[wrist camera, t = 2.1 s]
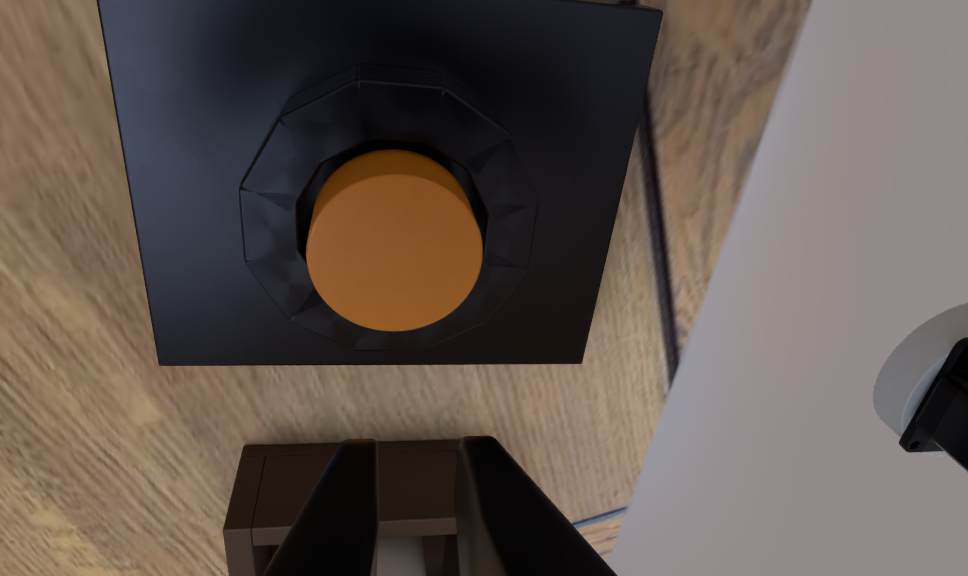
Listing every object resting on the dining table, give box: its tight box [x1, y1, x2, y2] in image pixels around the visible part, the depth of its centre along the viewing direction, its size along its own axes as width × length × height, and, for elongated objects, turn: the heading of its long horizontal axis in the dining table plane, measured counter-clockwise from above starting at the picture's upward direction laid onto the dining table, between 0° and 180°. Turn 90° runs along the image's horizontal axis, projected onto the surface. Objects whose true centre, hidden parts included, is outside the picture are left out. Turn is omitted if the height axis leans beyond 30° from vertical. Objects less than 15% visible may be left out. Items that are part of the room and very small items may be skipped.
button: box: [306, 149, 483, 331], centre depth 13 cm, size 4×4×2 cm
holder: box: [223, 440, 461, 576], centre depth 22 cm, size 8×8×4 cm
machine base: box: [97, 0, 663, 366], centre depth 15 cm, size 12×10×4 cm
